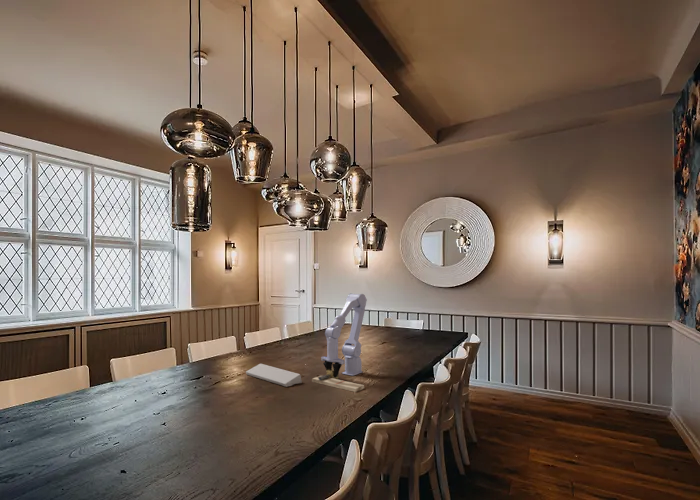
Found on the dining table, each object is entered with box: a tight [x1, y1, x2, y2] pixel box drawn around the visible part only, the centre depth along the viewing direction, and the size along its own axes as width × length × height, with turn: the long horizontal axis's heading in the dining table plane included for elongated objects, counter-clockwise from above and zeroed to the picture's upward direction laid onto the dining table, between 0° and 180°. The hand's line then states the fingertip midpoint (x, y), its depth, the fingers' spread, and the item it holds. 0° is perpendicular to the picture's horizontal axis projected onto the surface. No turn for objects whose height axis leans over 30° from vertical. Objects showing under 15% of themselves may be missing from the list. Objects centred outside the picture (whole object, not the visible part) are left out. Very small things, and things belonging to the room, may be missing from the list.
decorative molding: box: [245, 363, 302, 388], centre depth 199 cm, size 34×5×10 cm
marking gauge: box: [319, 367, 340, 380], centre depth 194 cm, size 12×4×5 cm, turn 142°
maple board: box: [311, 375, 365, 393], centre depth 187 cm, size 7×28×2 cm, turn 52°
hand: (332, 376), depth 197 cm, fingers closed on marking gauge, 4 cm apart
